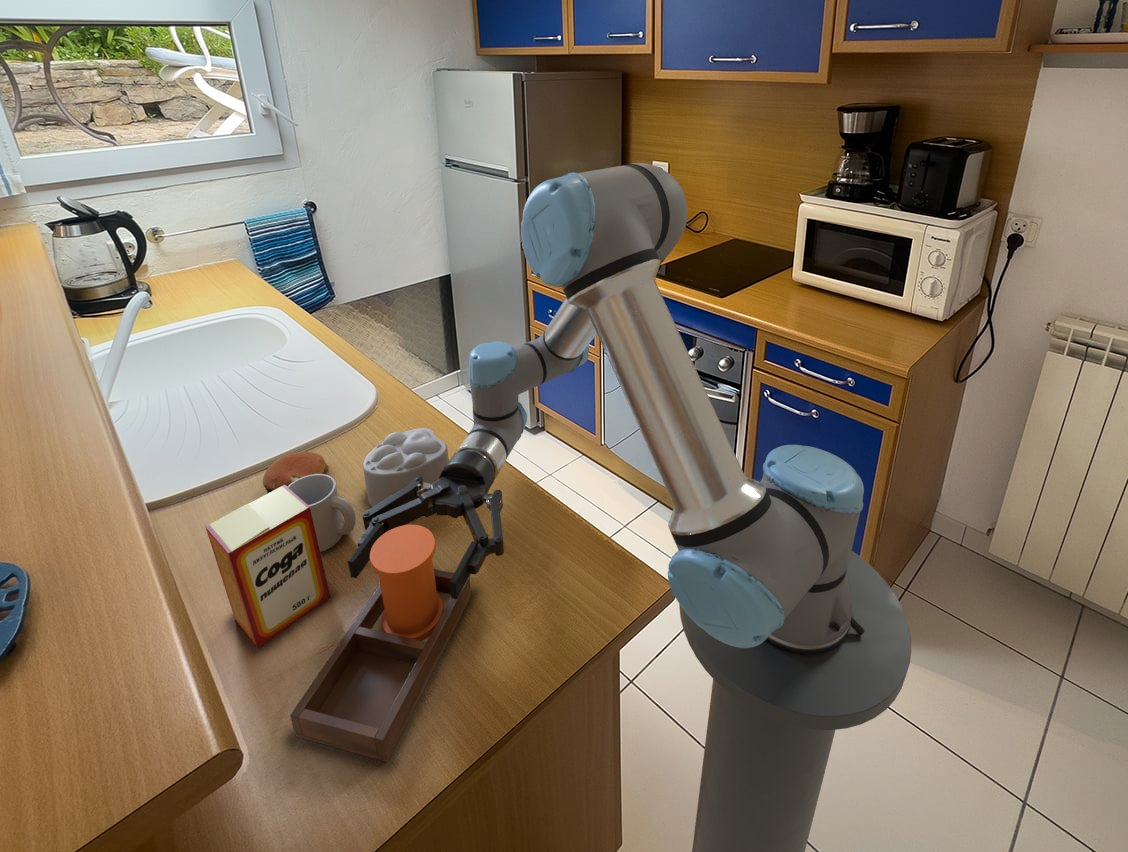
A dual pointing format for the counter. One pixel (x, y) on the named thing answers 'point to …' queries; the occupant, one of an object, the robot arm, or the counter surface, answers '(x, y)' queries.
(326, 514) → the cup
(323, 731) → the divided tray
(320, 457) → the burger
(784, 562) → the robot arm
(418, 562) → the spool
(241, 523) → the baking soda box
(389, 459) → the lumpy-topped squat cylinder
